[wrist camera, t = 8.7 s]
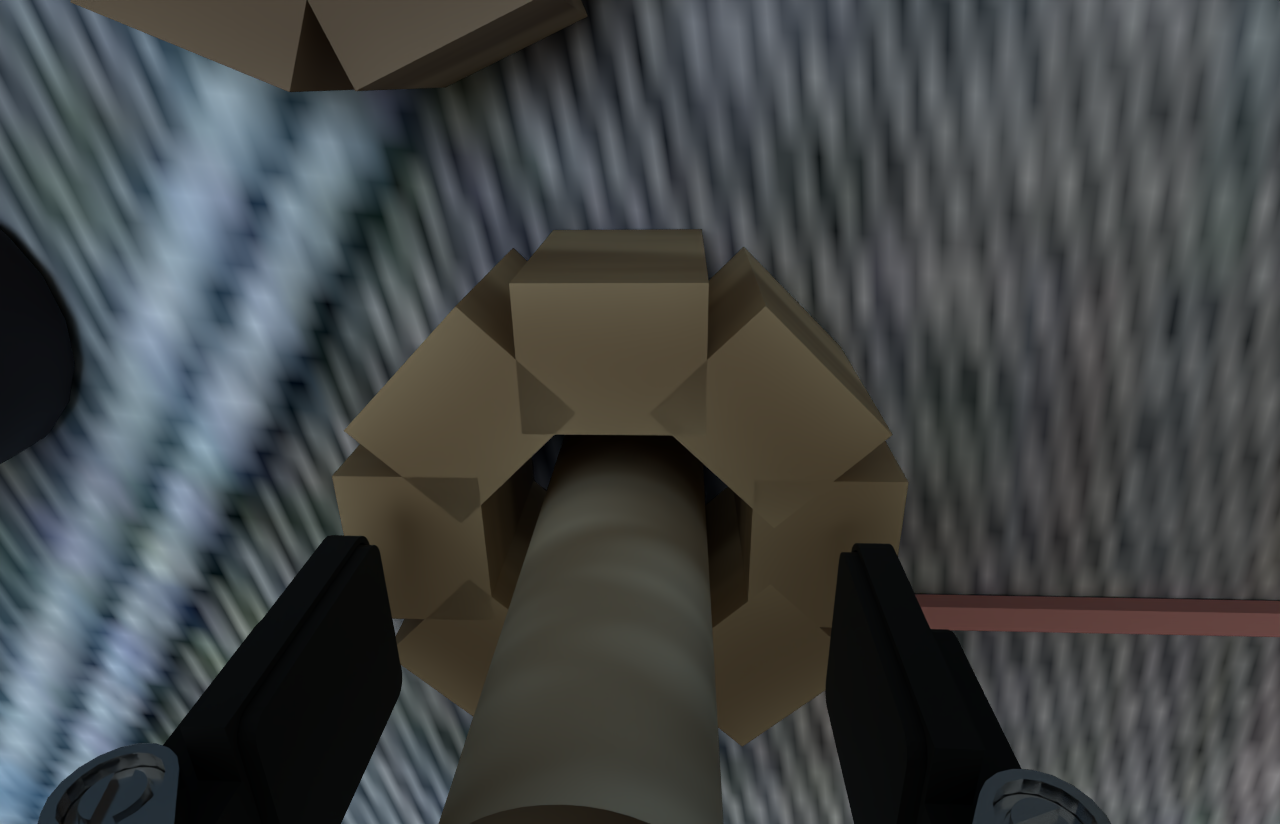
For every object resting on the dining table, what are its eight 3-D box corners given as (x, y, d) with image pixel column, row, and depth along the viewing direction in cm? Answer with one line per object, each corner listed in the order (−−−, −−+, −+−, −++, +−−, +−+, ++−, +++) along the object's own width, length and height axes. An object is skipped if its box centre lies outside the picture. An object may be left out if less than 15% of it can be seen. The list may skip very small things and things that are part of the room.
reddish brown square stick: (1409, 603, 19) (1428, 616, 18) (1398, 626, 19) (1416, 639, 18) (911, 594, 19) (916, 606, 19) (907, 616, 19) (913, 629, 19)
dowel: (704, 380, 17) (744, 918, 6) (701, 504, 18) (731, 1131, 7) (561, 379, 17) (354, 902, 6) (569, 502, 19) (408, 1113, 8)
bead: (869, 228, 16) (938, 282, 11) (828, 619, 20) (867, 763, 15) (392, 231, 16) (292, 284, 12) (447, 611, 20) (387, 749, 16)
